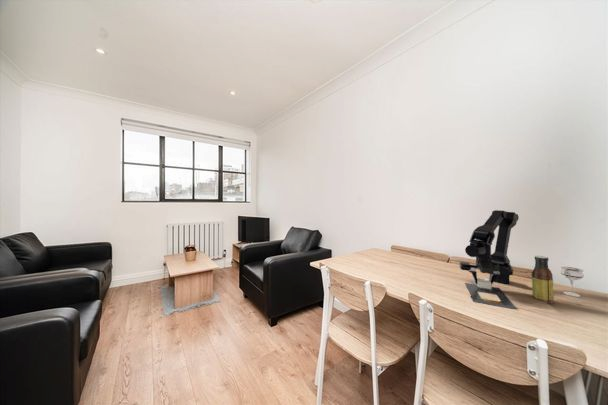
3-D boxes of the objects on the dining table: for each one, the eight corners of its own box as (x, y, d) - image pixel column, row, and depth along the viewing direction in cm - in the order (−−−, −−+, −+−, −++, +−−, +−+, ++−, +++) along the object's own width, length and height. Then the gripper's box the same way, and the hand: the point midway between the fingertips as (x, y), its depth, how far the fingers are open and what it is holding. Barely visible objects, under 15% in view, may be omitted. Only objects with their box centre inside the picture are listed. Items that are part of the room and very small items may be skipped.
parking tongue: (488, 284, 111) (488, 282, 111) (491, 288, 106) (491, 286, 106) (469, 281, 115) (469, 280, 114) (471, 285, 110) (471, 283, 110)
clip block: (488, 285, 105) (488, 279, 105) (491, 289, 101) (491, 283, 101) (475, 283, 108) (475, 277, 108) (478, 287, 103) (478, 281, 103)
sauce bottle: (546, 298, 95) (546, 255, 94) (558, 305, 89) (558, 259, 88) (528, 296, 97) (528, 254, 96) (537, 303, 91) (538, 258, 90)
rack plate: (499, 289, 104) (499, 287, 104) (515, 309, 86) (515, 306, 86) (464, 284, 111) (464, 282, 111) (472, 301, 93) (472, 298, 93)
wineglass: (581, 293, 99) (581, 268, 98) (585, 299, 94) (585, 272, 93) (558, 289, 103) (559, 265, 103) (561, 294, 98) (562, 269, 98)
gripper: (462, 256, 101) (463, 287, 102) (515, 261, 92) (515, 295, 93) (459, 250, 111) (459, 279, 112) (506, 254, 102) (506, 286, 102)
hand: (483, 285), depth 104 cm, fingers closed on clip block, 5 cm apart
